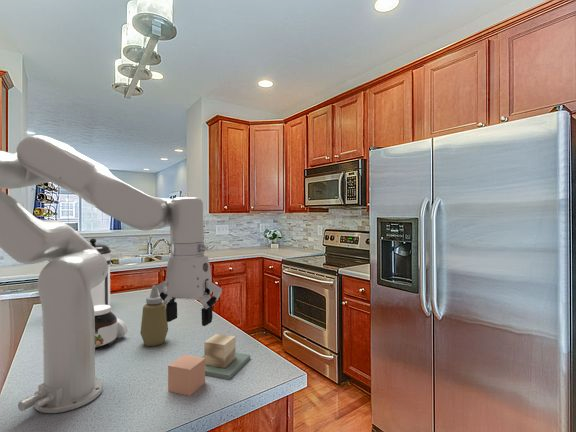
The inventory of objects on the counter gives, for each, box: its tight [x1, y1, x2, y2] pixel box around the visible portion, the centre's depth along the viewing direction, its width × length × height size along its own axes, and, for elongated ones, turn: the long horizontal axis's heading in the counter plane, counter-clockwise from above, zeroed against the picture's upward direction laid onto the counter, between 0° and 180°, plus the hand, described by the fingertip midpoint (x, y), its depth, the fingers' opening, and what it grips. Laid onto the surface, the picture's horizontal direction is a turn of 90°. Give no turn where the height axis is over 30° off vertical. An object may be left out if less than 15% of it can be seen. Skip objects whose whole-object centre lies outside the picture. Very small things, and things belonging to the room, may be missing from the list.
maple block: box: [203, 333, 236, 368], centre depth 87 cm, size 6×6×6 cm
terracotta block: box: [167, 354, 206, 397], centre depth 77 cm, size 6×6×6 cm
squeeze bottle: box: [139, 284, 169, 347], centre depth 101 cm, size 8×8×18 cm
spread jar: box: [94, 305, 128, 351], centre depth 101 cm, size 12×11×12 cm
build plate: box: [201, 352, 251, 380], centre depth 87 cm, size 12×12×1 cm
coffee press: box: [89, 238, 116, 306], centre depth 131 cm, size 17×16×30 cm
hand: (189, 322), depth 76 cm, fingers open, 9 cm apart
